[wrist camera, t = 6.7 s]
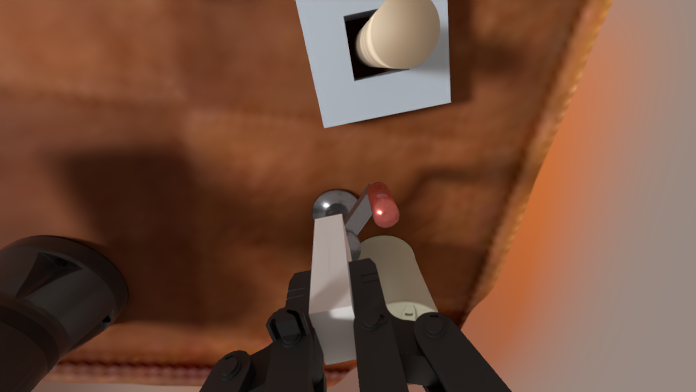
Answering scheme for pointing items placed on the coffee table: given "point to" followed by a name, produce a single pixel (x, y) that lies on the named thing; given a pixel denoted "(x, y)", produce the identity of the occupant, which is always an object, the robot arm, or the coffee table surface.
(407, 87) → the block
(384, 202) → the chrome ball lever
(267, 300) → the coffee table surface
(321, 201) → the crank post
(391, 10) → the dowel
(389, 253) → the can
